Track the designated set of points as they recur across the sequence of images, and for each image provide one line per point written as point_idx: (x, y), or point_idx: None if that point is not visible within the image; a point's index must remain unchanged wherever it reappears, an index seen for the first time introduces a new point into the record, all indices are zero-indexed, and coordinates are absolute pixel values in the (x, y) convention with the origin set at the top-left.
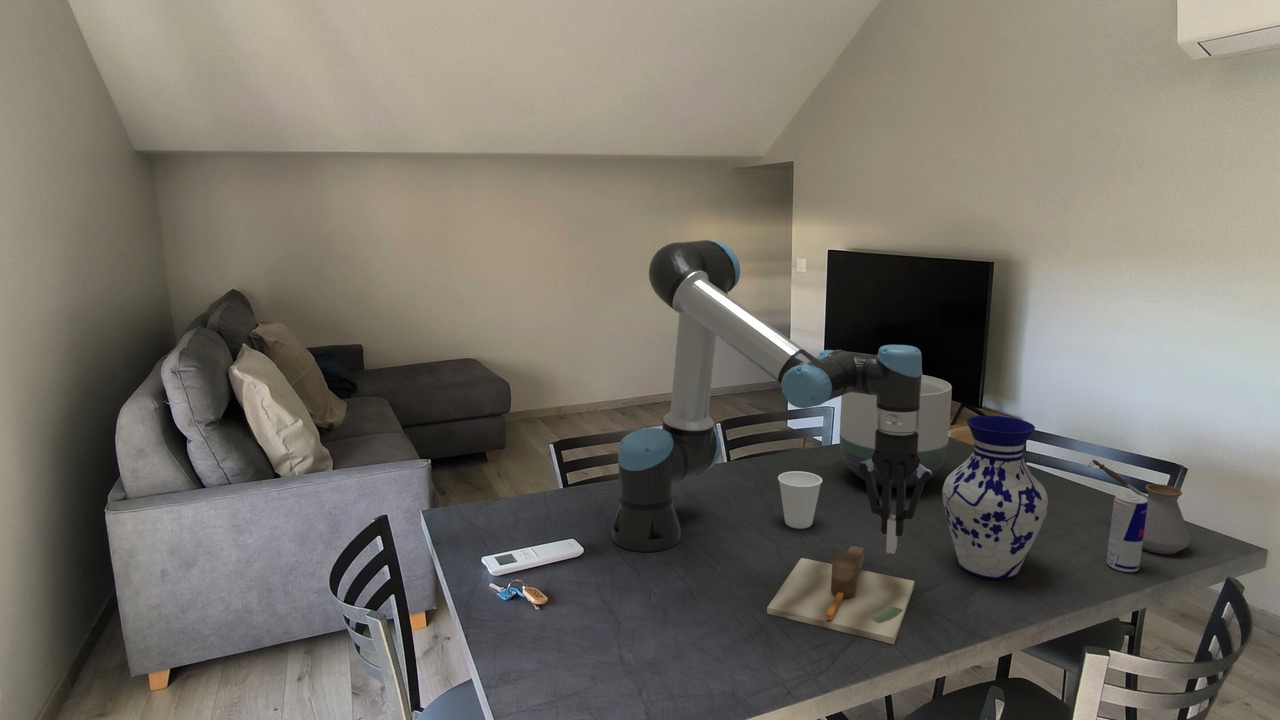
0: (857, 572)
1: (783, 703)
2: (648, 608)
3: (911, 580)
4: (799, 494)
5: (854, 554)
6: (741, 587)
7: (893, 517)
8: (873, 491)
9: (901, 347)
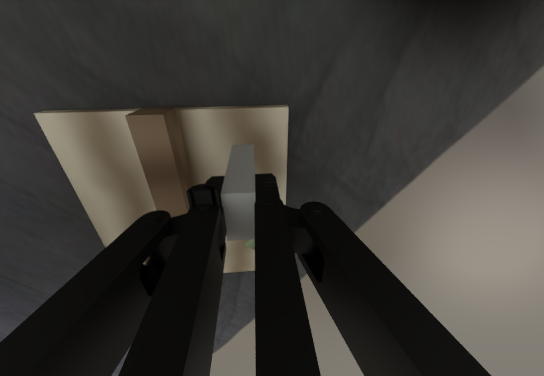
0: (187, 170)
1: (221, 347)
2: (8, 318)
3: (283, 108)
4: None
5: (160, 163)
6: (44, 239)
7: (241, 212)
8: (109, 373)
9: None
